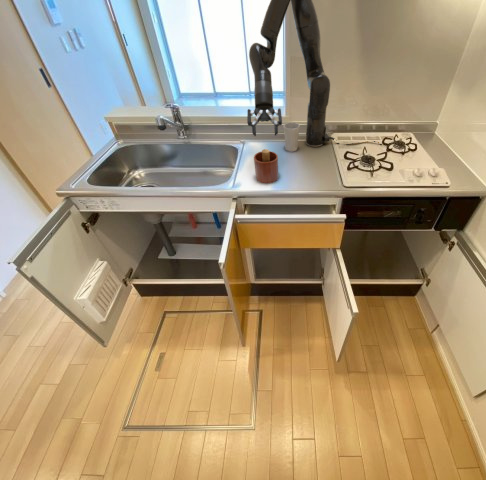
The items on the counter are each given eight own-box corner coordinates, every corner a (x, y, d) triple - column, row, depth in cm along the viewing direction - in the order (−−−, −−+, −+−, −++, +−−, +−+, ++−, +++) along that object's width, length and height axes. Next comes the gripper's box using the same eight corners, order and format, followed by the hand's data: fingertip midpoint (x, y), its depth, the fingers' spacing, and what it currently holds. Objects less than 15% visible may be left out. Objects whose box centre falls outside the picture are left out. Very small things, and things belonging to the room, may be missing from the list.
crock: (275, 169, 124) (275, 149, 117) (280, 181, 118) (280, 161, 110) (254, 172, 123) (252, 152, 116) (258, 184, 116) (255, 164, 109)
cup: (281, 150, 137) (280, 127, 129) (287, 143, 142) (287, 121, 134) (295, 153, 135) (295, 130, 126) (301, 146, 140) (302, 123, 131)
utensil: (270, 173, 121) (268, 148, 112) (271, 177, 119) (270, 152, 110) (263, 174, 121) (261, 149, 112) (264, 178, 118) (262, 153, 110)
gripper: (245, 91, 106) (247, 132, 106) (280, 90, 106) (282, 131, 107) (247, 101, 113) (249, 139, 114) (280, 100, 114) (282, 138, 114)
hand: (265, 135), depth 110 cm, fingers open, 8 cm apart
